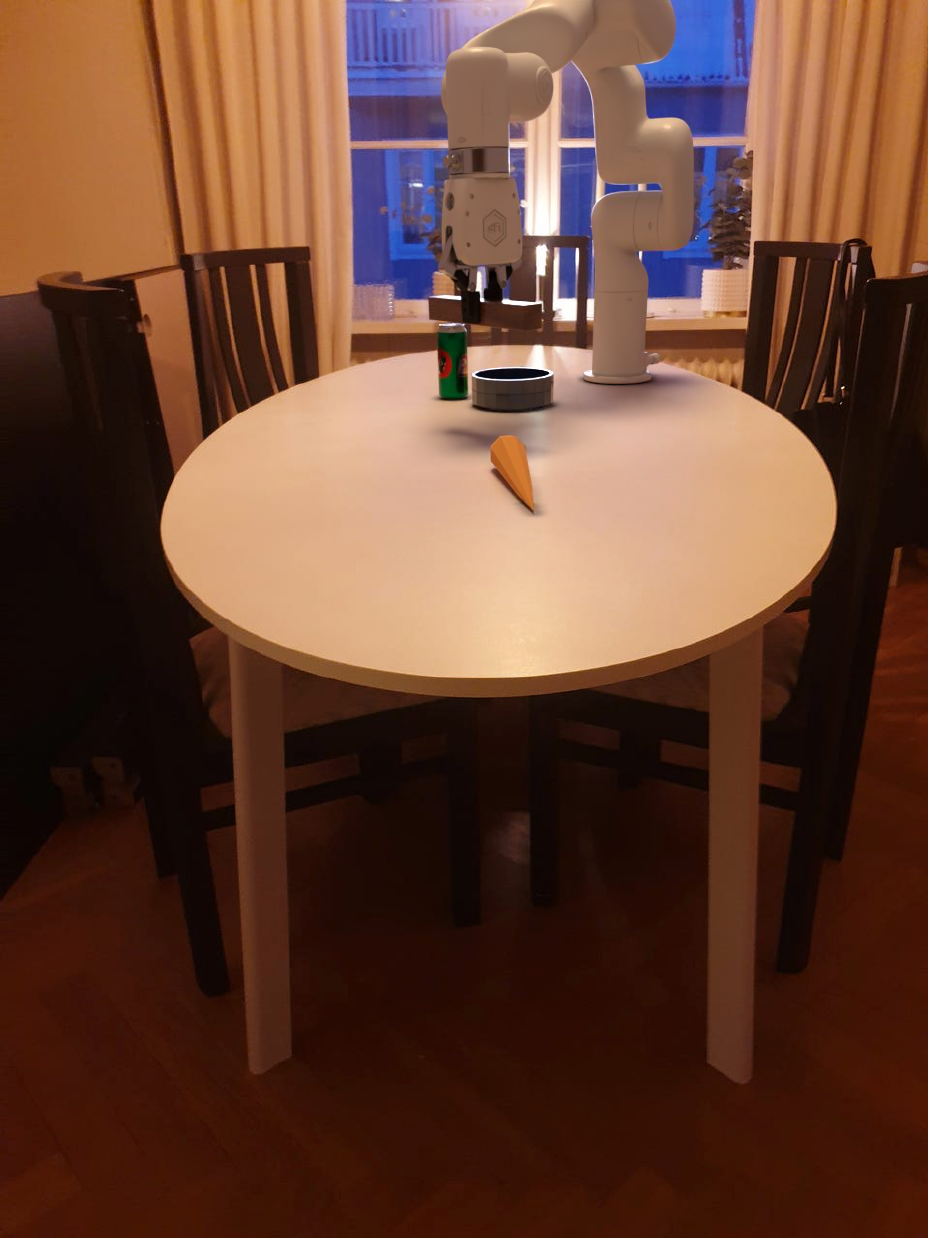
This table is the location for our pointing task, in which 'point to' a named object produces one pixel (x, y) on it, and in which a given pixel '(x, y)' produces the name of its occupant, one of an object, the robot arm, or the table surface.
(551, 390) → the bowl
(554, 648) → the table surface
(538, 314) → the rectangular bar
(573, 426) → the table surface
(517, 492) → the carrot
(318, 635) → the table surface
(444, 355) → the soda can
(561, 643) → the table surface
